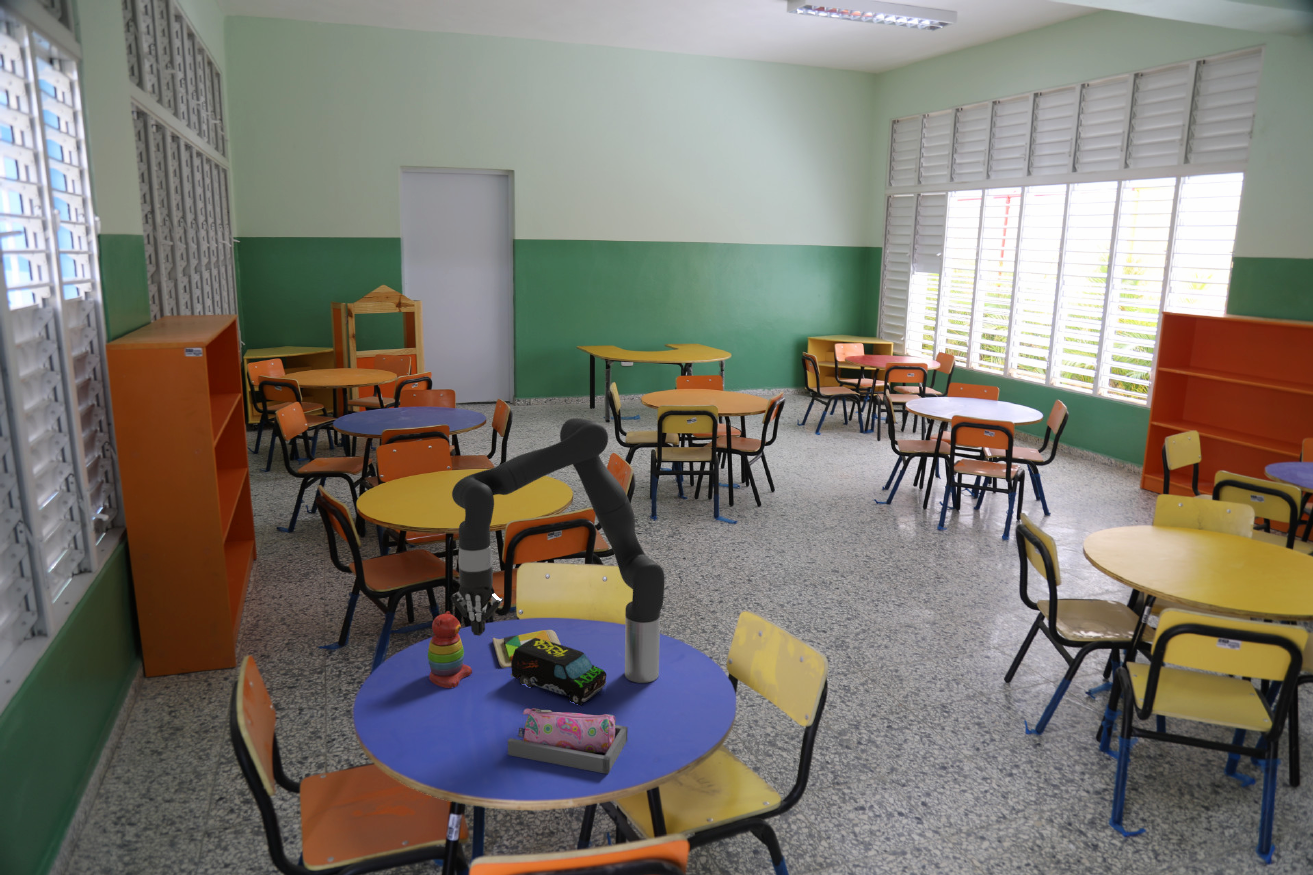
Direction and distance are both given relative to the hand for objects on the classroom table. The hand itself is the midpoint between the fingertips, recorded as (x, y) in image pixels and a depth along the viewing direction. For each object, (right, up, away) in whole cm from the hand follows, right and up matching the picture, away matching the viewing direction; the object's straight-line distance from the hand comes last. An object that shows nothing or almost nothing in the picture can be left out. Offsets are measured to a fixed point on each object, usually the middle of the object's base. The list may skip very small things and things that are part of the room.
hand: (478, 633), depth 199 cm
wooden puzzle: (+5, -16, +44) cm, 47 cm away
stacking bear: (-14, -18, +28) cm, 36 cm away
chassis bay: (+22, -25, -3) cm, 33 cm away
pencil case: (+22, -26, -3) cm, 34 cm away
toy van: (+16, -20, +24) cm, 35 cm away
